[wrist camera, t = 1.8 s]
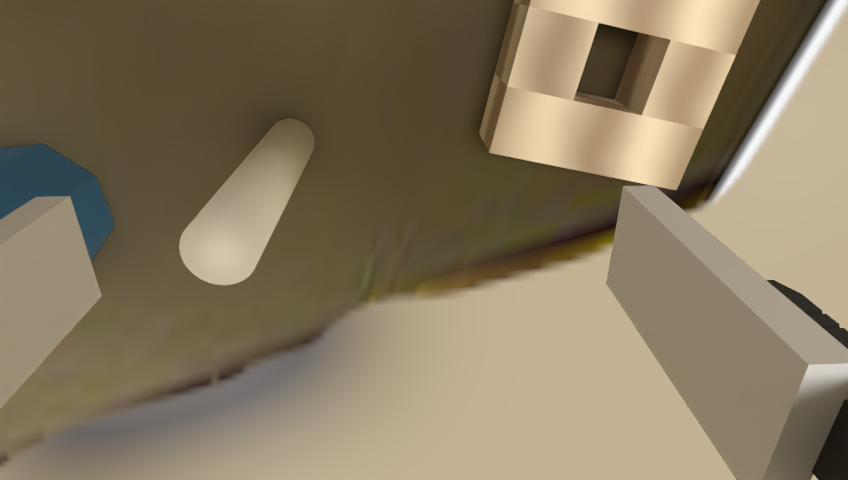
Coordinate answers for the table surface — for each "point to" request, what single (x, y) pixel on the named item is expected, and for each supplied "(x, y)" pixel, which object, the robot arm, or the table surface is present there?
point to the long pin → (247, 207)
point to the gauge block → (637, 93)
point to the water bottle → (54, 188)
